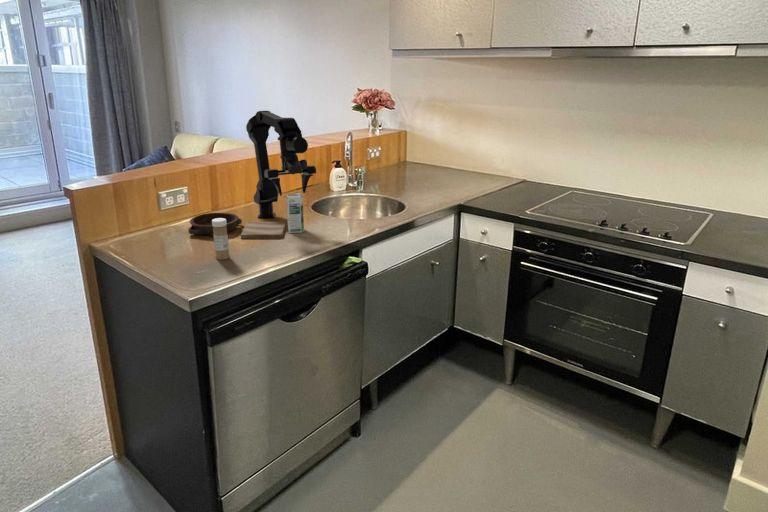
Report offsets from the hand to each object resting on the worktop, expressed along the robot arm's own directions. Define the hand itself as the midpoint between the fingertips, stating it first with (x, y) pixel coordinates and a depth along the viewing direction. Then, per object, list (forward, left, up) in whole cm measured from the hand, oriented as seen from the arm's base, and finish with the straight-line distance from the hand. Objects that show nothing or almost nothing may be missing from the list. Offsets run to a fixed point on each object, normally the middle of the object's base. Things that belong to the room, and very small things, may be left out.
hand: (292, 194), depth 199 cm
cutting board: (0, -11, -15) cm, 19 cm away
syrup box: (-1, +1, -15) cm, 15 cm away
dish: (-2, -30, -15) cm, 34 cm away
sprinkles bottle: (+28, -21, -15) cm, 39 cm away
